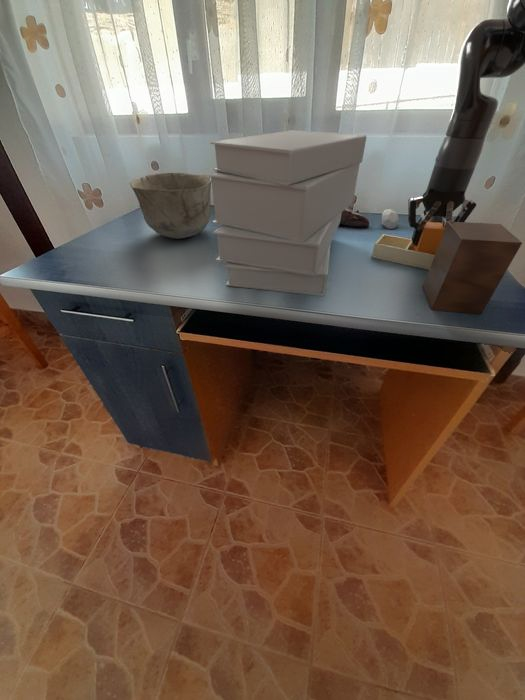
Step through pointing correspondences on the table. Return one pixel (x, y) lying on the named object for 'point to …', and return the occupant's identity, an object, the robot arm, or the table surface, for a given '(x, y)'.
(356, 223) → the brown shoe
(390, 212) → the gemstone
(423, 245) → the orange rectangular block
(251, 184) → the book stack
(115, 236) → the table surface
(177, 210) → the bowl
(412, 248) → the divided box
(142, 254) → the table surface
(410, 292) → the table surface
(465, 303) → the stand
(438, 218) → the grey mottled figurine
